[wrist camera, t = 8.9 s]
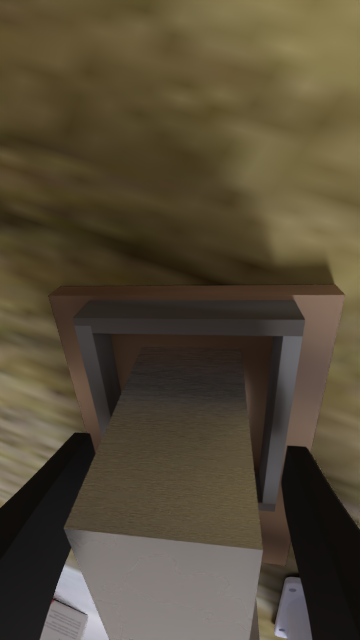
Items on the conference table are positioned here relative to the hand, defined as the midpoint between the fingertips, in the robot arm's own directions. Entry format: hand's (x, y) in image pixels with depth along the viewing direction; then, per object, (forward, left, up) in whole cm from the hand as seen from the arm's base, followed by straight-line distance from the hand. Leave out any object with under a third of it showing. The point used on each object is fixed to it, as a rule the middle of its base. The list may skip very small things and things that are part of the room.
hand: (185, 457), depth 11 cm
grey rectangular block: (0, 0, -3) cm, 3 cm away
